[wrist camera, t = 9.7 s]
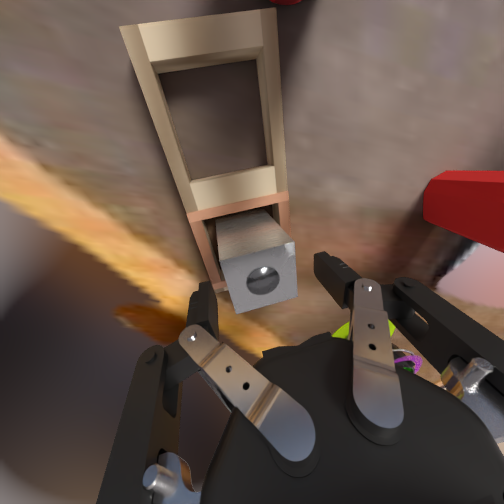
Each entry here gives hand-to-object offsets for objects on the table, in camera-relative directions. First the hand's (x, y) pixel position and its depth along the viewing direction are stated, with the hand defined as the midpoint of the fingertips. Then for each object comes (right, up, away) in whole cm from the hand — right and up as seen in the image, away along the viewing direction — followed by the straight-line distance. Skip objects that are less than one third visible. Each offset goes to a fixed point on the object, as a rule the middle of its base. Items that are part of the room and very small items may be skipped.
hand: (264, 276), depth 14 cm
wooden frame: (-3, +8, +3) cm, 9 cm away
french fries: (+22, +9, +9) cm, 25 cm away
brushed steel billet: (-2, +4, +6) cm, 7 cm away
